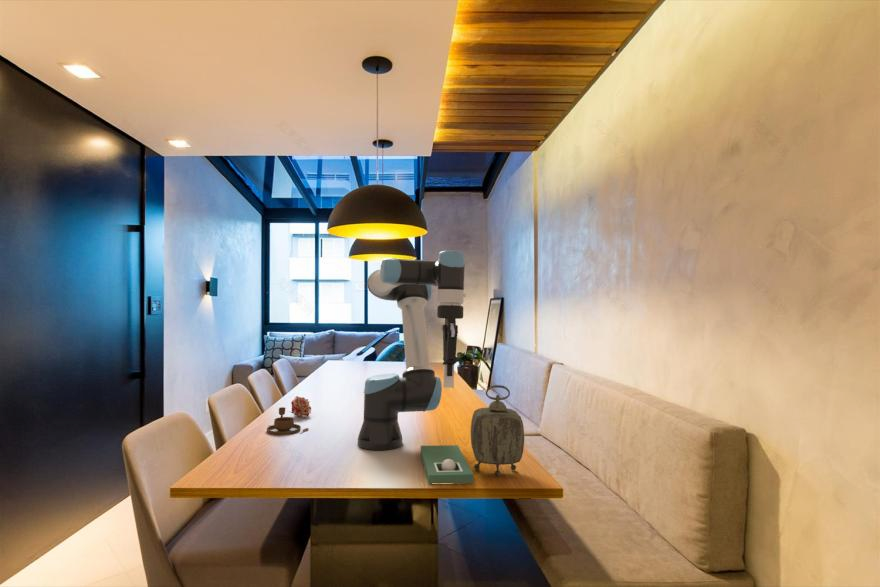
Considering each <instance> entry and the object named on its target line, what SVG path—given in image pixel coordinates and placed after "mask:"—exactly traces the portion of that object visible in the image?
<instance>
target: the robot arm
mask: <svg viewBox="0 0 880 587" xmlns="http://www.w3.org/2000/svg"><path fill="white" fill-rule="evenodd" d="M465 265H466V262H465V254H464V252H462V251H458V250H442V251H440V252H439V253H438V259H437V260H426V259H425V260H424V259H422V260H421V259H405V258H403V259H402V258H396V257H392V258H383V259H382V261H381V264H380V269H377V270H374V271H373V272H371V273H370V275H369V276H368V279H367V281H366V284H367V289H368V291H369V292H370V294H372V295H373V297H374V296H375V298H378V299H381V300H383V301H391V302H392V301H394V302H396V303H397V304H396V305H397V307H398V308H399V309H400V310H401V317H402V331H403V332H402V334H403V343H404V344H403V346H404V357H405V358H404V359H405V370H404V371H403V372H402V374H401V375H402V376H401V377H400V376H399V374H398V373H396V372H395V373H380V374H376V375H371V376H369V377H367V379H366V380H365V382H364V389H363V398H364V399H363V422H362V424H361V427H360V430H359V433H358V436H357V446H358V447H360V448H361V449H365V450H370V451H388V450H389V451H390V450H394V449H398V448H399V447H401V446H402V445H403V435H402V431H401V428H400V424H399V421H398V420H399V419H398V418H399V413H410V412H411V413H414V412H428V411H434V410H436V409H437V408H438V407H439V405H440V403H441V397H442V391H443V388H448V389H449V388H454V386H455V385H454V384H455V380H454V379H455V364H456V362H457V360H456V358H457V356H456V355H457V341H458V334H459V331H458V330H459V328H458V324H456V323H457V322H456V320H458V319H459V320H462V319H464V306H463V305H462V304H464V297H466V293H464V292H465V291H464V289H465V288H464V287H465ZM432 286H433V287H437V300H436V301H437V303H438V304H439V305H437V308H436V309H437V310H436V311H437V312H436V316H437V318H438V319H444V324H442V326H441V327H442V339H443V340H442V342H443V344H442V347H443V348H442V352H443V353H442V355H443V357H442V360H443V361H442V365H443V384H442V379H441V378H440V377H439V376H436V374H435V370H434V369H433V368H432V367H431V366H430V357H429V345H428V335H427V324H426V316H425V307H426V306H427V305H428V302H430V300H431V296H432ZM442 385H443V386H442ZM442 387H443V388H442Z"/></svg>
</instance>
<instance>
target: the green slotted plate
mask: <svg viewBox="0 0 880 587" xmlns="http://www.w3.org/2000/svg"><path fill="white" fill-rule="evenodd" d="M420 457H421V461H422V463H423V464H424V465H423V468H425V469H424V472H426V473H425V477H426V476H427V477H426V479H427V480H428V481H427V484H428V483H429V484H432V483H473V484H474V472H473V471H472V469H471V467H470V466H469V464H468V462H467V460H466V458H465V456H464V455H463V452H462V451H461V449H460V447H459V445H458V444H457V445H456V444H455V445H451V444H450V445H420ZM446 459H451V460H453V461H454V462H455V465H456V468H455V471H443V470H442V463H443V461H444V460H446Z"/></svg>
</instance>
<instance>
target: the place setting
mask: <svg viewBox="0 0 880 587" xmlns="http://www.w3.org/2000/svg"><path fill="white" fill-rule="evenodd" d="M278 414H279V416H280V417H275V418H274V420H273V421H274V422H273V424H269V425H267V426H268V427H266V432H267V433H268V434H269V435H274V436H287V435H288V436H289V435H292V434H297V433H298V432H300V430H301V428H302V426H301V425H300V424H297V423H295V418H294V417H291V416H284V415H285V414H286V407H283V406H282V407H278ZM291 429H293V430H291ZM273 430H275V431H273ZM308 431H309V428H308V427H306V428H304V429H302V432H300V433H299V435H302V434H303V433H304V432H308Z"/></svg>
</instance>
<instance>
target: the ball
mask: <svg viewBox="0 0 880 587" xmlns="http://www.w3.org/2000/svg"><path fill="white" fill-rule="evenodd" d="M455 468H456V465H455V462H454V461H453V460H451V459H446V460H444V461H443V463H442V470H443V471H455Z"/></svg>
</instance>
